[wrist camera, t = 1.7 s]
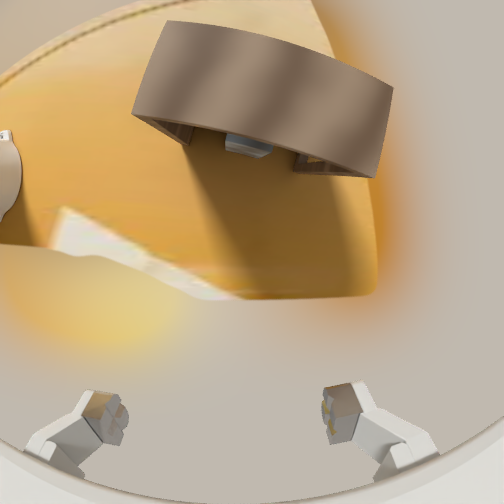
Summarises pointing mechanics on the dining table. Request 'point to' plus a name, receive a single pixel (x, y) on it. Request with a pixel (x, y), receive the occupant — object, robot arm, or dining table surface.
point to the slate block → (247, 146)
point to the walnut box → (265, 97)
